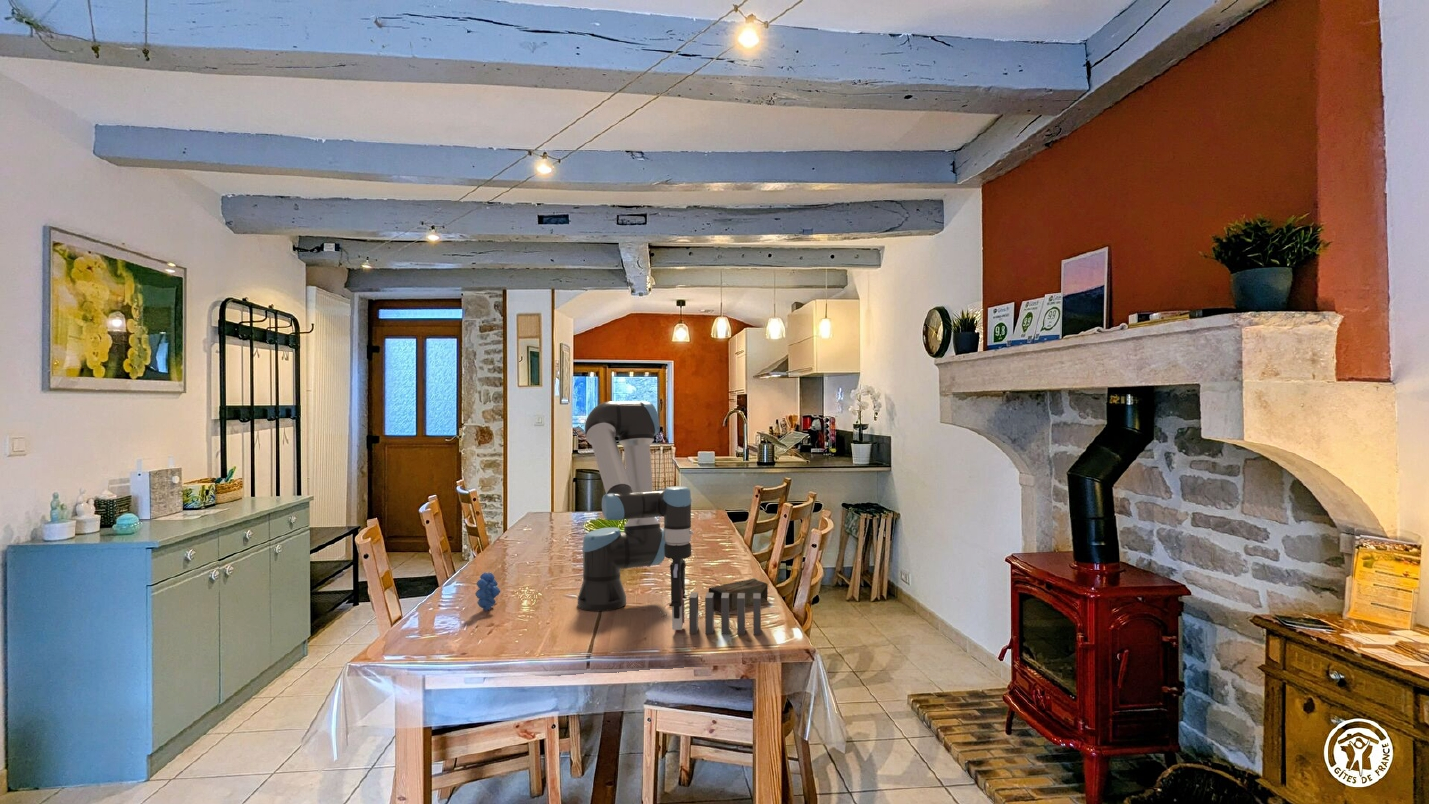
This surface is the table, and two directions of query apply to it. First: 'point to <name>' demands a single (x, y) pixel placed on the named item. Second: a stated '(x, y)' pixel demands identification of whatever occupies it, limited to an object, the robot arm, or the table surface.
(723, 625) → the domino
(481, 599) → the grapes
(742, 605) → the domino
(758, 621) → the domino
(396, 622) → the table surface
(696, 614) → the domino
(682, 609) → the domino red
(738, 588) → the beverage carton
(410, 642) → the table surface
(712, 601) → the domino
